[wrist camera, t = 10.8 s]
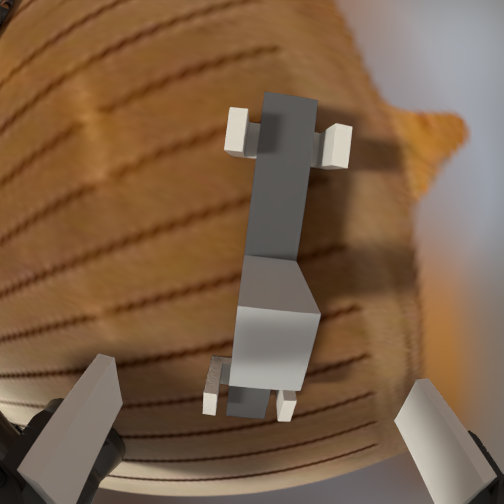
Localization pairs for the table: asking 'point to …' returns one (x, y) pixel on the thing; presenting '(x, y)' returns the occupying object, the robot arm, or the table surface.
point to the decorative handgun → (4, 8)
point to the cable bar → (275, 263)
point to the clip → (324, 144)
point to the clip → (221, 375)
